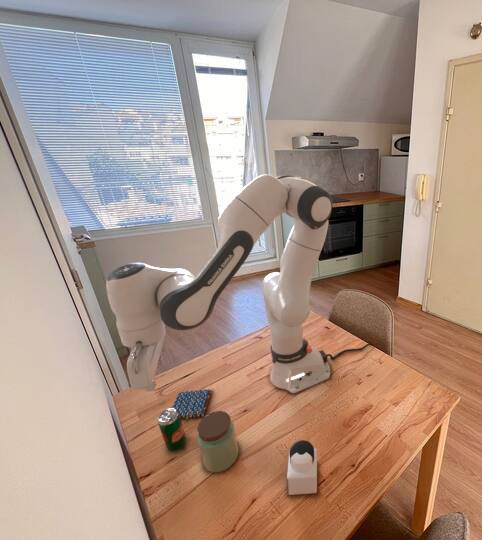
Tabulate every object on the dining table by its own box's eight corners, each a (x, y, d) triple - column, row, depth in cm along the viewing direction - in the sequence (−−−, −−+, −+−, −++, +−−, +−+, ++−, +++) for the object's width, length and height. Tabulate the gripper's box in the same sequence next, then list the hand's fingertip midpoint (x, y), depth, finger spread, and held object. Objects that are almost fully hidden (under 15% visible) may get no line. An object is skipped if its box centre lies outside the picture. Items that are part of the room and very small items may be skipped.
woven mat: (204, 417, 93) (203, 413, 92) (168, 421, 91) (167, 416, 90) (212, 391, 102) (211, 387, 101) (180, 394, 101) (179, 390, 100)
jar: (237, 436, 87) (231, 405, 82) (239, 465, 80) (232, 433, 74) (204, 446, 84) (196, 414, 79) (203, 477, 77) (193, 444, 71)
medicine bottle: (290, 466, 80) (288, 437, 75) (316, 464, 80) (316, 435, 75) (288, 495, 73) (285, 465, 68) (316, 493, 74) (316, 463, 69)
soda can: (178, 454, 82) (168, 424, 77) (162, 450, 83) (152, 421, 78) (190, 437, 86) (182, 408, 82) (175, 434, 87) (166, 405, 82)
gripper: (149, 356, 61) (162, 404, 67) (165, 306, 79) (174, 348, 84) (112, 362, 59) (129, 411, 65) (137, 310, 76) (149, 352, 82)
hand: (155, 375), depth 75 cm, fingers open, 8 cm apart
